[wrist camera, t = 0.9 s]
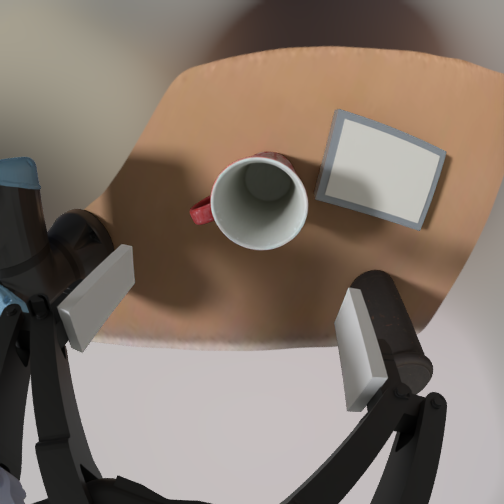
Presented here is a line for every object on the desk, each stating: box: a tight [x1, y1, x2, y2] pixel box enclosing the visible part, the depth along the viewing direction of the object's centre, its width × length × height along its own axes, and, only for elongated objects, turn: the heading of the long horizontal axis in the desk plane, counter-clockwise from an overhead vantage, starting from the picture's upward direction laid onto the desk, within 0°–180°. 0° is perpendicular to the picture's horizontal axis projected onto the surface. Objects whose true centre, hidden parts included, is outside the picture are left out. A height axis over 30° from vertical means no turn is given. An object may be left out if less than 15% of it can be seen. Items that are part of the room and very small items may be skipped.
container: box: [350, 270, 433, 395], centre depth 34 cm, size 9×9×20 cm
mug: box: [190, 152, 308, 250], centre depth 32 cm, size 13×9×14 cm
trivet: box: [314, 109, 446, 231], centre depth 33 cm, size 16×12×3 cm
